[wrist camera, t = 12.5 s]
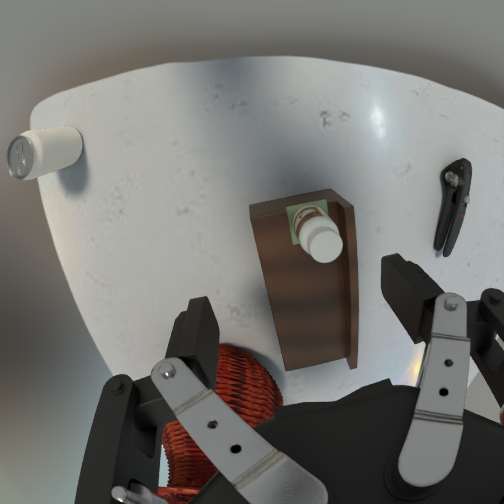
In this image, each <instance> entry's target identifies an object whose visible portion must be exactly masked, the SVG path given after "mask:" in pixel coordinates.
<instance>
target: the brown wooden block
mask: <svg viewBox="0 0 504 504" xmlns="http://www.w3.org/2000/svg"><path fill="white" fill-rule="evenodd" d="M311 205H312V206H317V207H319V208H321V209H322V210H323V211H324V212H325V213H326V214H327V215H328V216H329V218H330V219H331V220H332V221H333V222H334V223H335V225H336V226H337V228H338V231H339V236H340V237H341V239H342V244H343V247H342V251H341V253H340V255H339V256H338V257H337V258H336V259H335V260H333V261H331V262H327V263H321V262H318V261H316V260H315V259H314V258H313V257H312V256H311V255H310V254H308V253H307V252H306V251H305V250H304V249H303V248H302V246H301V244H300V242H299V240H298V238H297V235H296V233H295V231H294V228H293V219H294V216H295V214H296V213H297V212H298V211H299V210H300V209H301V208H303V207H305V206H311ZM249 209H250V220H251V224H252V229H253V233H254V237H255V241H256V245H257V250H258V254H259V258H260V262H261V267H262V271H263V275H264V280H265V284H266V288H267V292H268V297H269V301H270V305H271V310H272V314H273V318H274V323H275V327H276V331H277V336H278V340H279V344H280V349H281V353H282V357H283V362H284V366H285V370H286V371H290V370H295V369H300V368H305V367H309V366H314V365H318V364H322V363H326V362H330V361H334V360H338V359H342V358H346V359H347V362H348V365H349V367H350V370H351V369H355V368H357V357H358V329H359V288H358V259H357V241H356V227H355V215H354V206H353V205H352V204H350V203H349V202H348V201H346V200H345V199H344V198H342V197H341V196H340V195H339V194H337V193H336V192H335V191H333V190H332V189H326V190H321V191H315V192H310V193H305V194H300V195H295V196H290V197H285V198H280V199H275V200H271V201H266V202H261V203H257V204H252V205H249Z"/></svg>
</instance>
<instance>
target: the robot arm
mask: <svg viewBox="0 0 504 504" xmlns="http://www.w3.org/2000/svg"><path fill="white" fill-rule="evenodd" d="M381 291H382V294H383V297H384V298H385V300H386V301H387V303H388V304H389V306H390V307H391V309H392V310H393V312H394V313H395V315H396V316H397V318H398V319H399V321H400V322H401V324H402V325H403V327H404V328H405V330H406V331H407V333H408V334H409V336H410V337H411V339H412V340H413V342H414V344H417V343H420V342H423V341H424V342H425V344H426V345H425V349H424V354H423V358H422V363H421V367H420V371H419V375H418V379H417V383H416V386H415V387H413V386H407V385H392V383H391V381H390V379H389V378H388V379H385V380H382V381H379V382H376V383H373V384H370V385H367V386H364V387H361V388H360V389H358V390H356V391H354V392H352V393H351V394H349V395H347V396H345V397H343V398H341V399H339V400H337V401H332V402H302V403H297V404H292V405H287V406H282V407H276V408H274V413H275V416H273V417H271V418H269V419H267V420H265V421H263V422H261V423H260V424H258V425H257V426H256V427H254V428H253V429H252V428H251V427H250V426H249V425H248V424H247V423H246V422H245V421H244V420H243V419H241V418H240V417H239V416H238V415H237V414H236V413H235V412H234V411H233V410H232V409H231V408H230V407H229V406H228V405H227V404H226V403H225V402H224V401H223V400H222V399H221V398H220V397H219V396H218V395H217V394H216V393H215V392H216V379H217V364H218V350H219V337H220V333H219V326H218V323H217V320H216V317H215V315H214V312H213V310H212V307H211V304H210V302H209V299H208V298H207V296H204V297H199V298H194V299H190V301H189V305H188V309H187V311H183V312H181V313H180V314H179V316H178V317H177V318H176V319H175V322H174V326H173V330H172V333H171V337H170V340H169V344H168V348H167V352H166V356H165V359H164V360H162V361H160V362H158V363H157V364H156V365H155V366H154V368H153V369H152V371H151V375H150V376H147V377H144V378H142V379H139V380H136V381H133V380H132V379H131V378H130V377H129V376H128V375H125V374H119V375H116V376H113V377H112V378H110V379H109V380H108V381H107V382H106V383H105V385H104V387H103V390H102V393H101V397H100V400H99V403H98V406H97V409H96V413H95V416H94V420H93V423H92V427H91V431H90V434H89V438H88V442H87V446H86V450H85V454H84V458H83V463H82V467H81V472H80V477H79V481H78V486H77V492H76V498H75V504H168V503H167V501H166V499H165V498H164V497H163V496H161V495H160V494H158V483H159V469H160V457H161V446H162V436H163V426H164V425H165V424H168V423H171V422H174V421H177V420H179V422H180V423H181V424H182V426H183V427H184V428H185V430H186V431H187V432H188V434H189V435H190V436H191V437H192V439H193V440H194V441H195V442H196V444H197V445H198V446H199V447H200V449H201V450H202V451H203V452H204V453H205V455H206V456H207V457H208V458H209V459H210V460H211V462H212V463H213V464H214V465H215V466H216V467H217V468H218V471H217V472H216V473H215V474H214V475H213V477H212V478H211V479H210V480H209V481H208V482H207V483H206V485H205V486H204V487H203V488H202V489H201V490H200V491H199V492H198V493H197V495H196V496H195V497H194V498H193V499H192V500H191V501H190V502H189V503H188V504H504V350H503V349H502V347H501V346H500V345H499V343H498V342H497V341H496V339H495V337H496V335H497V334H498V335H499V337H500V338H501V339H502V341H503V342H504V292H502V291H500V290H498V289H494V288H489V289H486V290H484V291H483V292H482V294H481V298H480V300H477V301H468V302H466V301H465V299H464V298H463V297H462V296H460V295H458V294H455V293H445V292H444V291H443V290H442V289H441V288H440V287H439V285H438V284H437V283H436V282H435V281H434V280H433V279H432V278H431V277H429V275H428V274H427V273H426V272H424V270H423V269H422V268H421V267H420V266H419V265H417V264H415V263H413V262H411V261H407V262H406V261H405V260H404V259H403V258H402V257H401V256H400V255H399V254H398V253H395V254H391V255H388V256H384V257H382V260H381ZM470 356H471V357H472V359H473V360H474V362H475V364H476V365H477V367H478V369H479V370H480V372H481V373H482V375H483V377H484V379H485V380H486V382H487V384H488V386H489V387H490V389H491V391H492V393H493V395H494V396H495V399H496V400H497V402H498V404H499V406H500V408H501V410H500V423H497V422H494V421H492V420H489V419H487V418H485V417H482V416H480V415H478V414H475V413H473V412H470V411H468V410H466V409H464V404H465V398H466V390H467V382H468V372H469V360H470Z"/></svg>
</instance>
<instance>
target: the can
mask: <svg viewBox="0 0 504 504" xmlns="http://www.w3.org/2000/svg"><path fill="white" fill-rule="evenodd" d="M81 151H82V138H81V135H80V133H79V132H78V130H77V129H75V128H74V127H71V126H64V127H53V128H45V129H37V130H30V131H26V132H24V133H22V134H21V135H19V136H17V137H15V138H14V139H13V140H12V141H11V142H10V144H9V147H8V150H7V155H6V163H7V168H8V170H9V173H10V174H11V175H12V177H13V178H15V179H17V180H21V179H23V180H30V179H33V178H36V177H39V176H42V175H45V174H47V173H50V172H53V171H56V170H59V169H62V168H65V167H68V166H70V165H72V164H74V163H75V162H76V161H77V160H78V158H79V157H80V154H81Z"/></svg>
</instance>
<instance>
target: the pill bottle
mask: <svg viewBox="0 0 504 504" xmlns="http://www.w3.org/2000/svg"><path fill="white" fill-rule="evenodd" d="M293 228H294V231H295V233H296V235H297V238H298V240H299V242H300V244H301V246H302V248H303V249H304V250H305V251H306V252H307V253H308V254H310V255H311V256H312V257H313V258H314V259H315V260H316V261H318V262H321V263H327V262H331V261H333V260H335V259H336V258H337V257H338V256H339V255H340V253H341V251H342V247H343V244H342V239H341V237H340V236H339V231H338V228H337V226H336V225H335V223H334V222H333V221H332V220H331V219H330V218H329V216H328V215H327V214H326V213H325V212H324V211H323V210H322V209H321V208H319V207H317V206H312V205H311V206H305V207H303V208H301V209H300V210H299V211H298V212H297V213H296V214H295V216H294V219H293Z"/></svg>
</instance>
